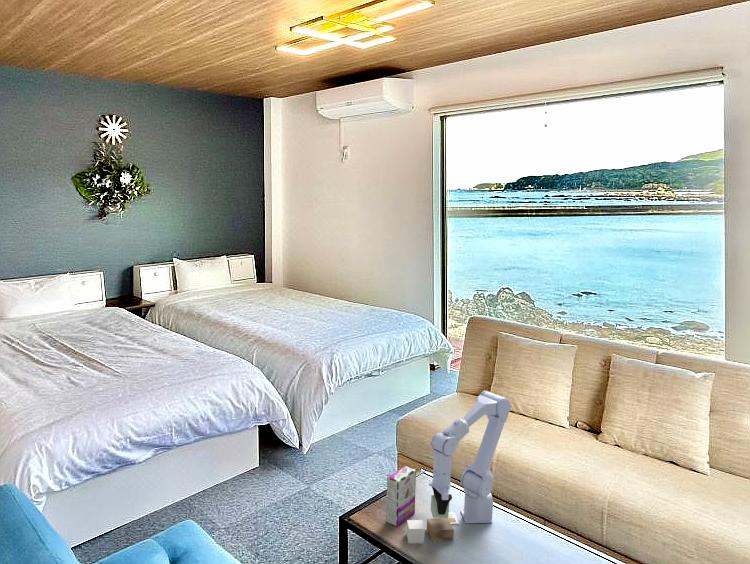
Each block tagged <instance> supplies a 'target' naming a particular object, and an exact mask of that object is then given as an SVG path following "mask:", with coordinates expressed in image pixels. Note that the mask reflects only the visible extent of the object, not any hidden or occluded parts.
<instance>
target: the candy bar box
mask: <svg viewBox="0 0 750 564" xmlns="http://www.w3.org/2000/svg"><path fill="white" fill-rule="evenodd" d="M416 478H417V469H415V468H412V467H409V466H407V465H404V466H403V467H400V469H398V470H397V471H395V472H393V473H392V474H390V475H389V476H387V477H386V519H385V520H386V522H385V523H388V524H390V525H392V526H394V527H399V526H400V525H401V524H403V523H404V522H405V521H407V520H409V518H410V517H412V516H413V515H414V514H415V513H416V512H415V511H416V484H417V482H416V480H417V479H416Z"/></svg>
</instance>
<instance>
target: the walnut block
mask: <svg viewBox="0 0 750 564" xmlns="http://www.w3.org/2000/svg"><path fill="white" fill-rule="evenodd" d="M426 531H427V532H428V535H429V537H430V540H431V542H432V543H433V542H446V541H454V535H455V528H454V527H453V525H451V523H450V521H449V520H448V518H433V517H432V518H427V519H426Z"/></svg>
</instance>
